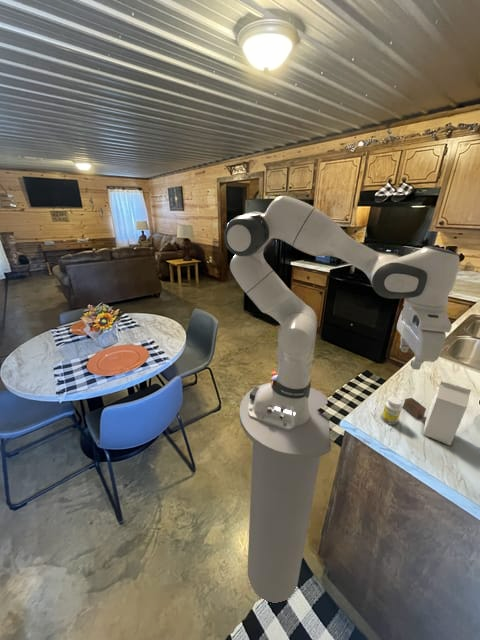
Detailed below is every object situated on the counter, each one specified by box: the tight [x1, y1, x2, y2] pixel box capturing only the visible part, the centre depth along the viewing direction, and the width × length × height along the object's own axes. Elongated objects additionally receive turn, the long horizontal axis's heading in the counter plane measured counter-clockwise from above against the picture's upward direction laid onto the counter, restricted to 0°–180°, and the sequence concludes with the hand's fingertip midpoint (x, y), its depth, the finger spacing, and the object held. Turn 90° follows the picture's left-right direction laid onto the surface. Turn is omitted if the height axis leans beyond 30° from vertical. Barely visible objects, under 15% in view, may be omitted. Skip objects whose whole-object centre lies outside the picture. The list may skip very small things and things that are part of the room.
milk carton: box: [423, 380, 472, 446], centre depth 82 cm, size 7×7×19 cm
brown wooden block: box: [402, 397, 427, 420], centre depth 94 cm, size 6×3×4 cm, turn 13°
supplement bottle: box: [381, 396, 403, 425], centre depth 90 cm, size 5×5×8 cm
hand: (408, 359), depth 72 cm, fingers open, 8 cm apart
